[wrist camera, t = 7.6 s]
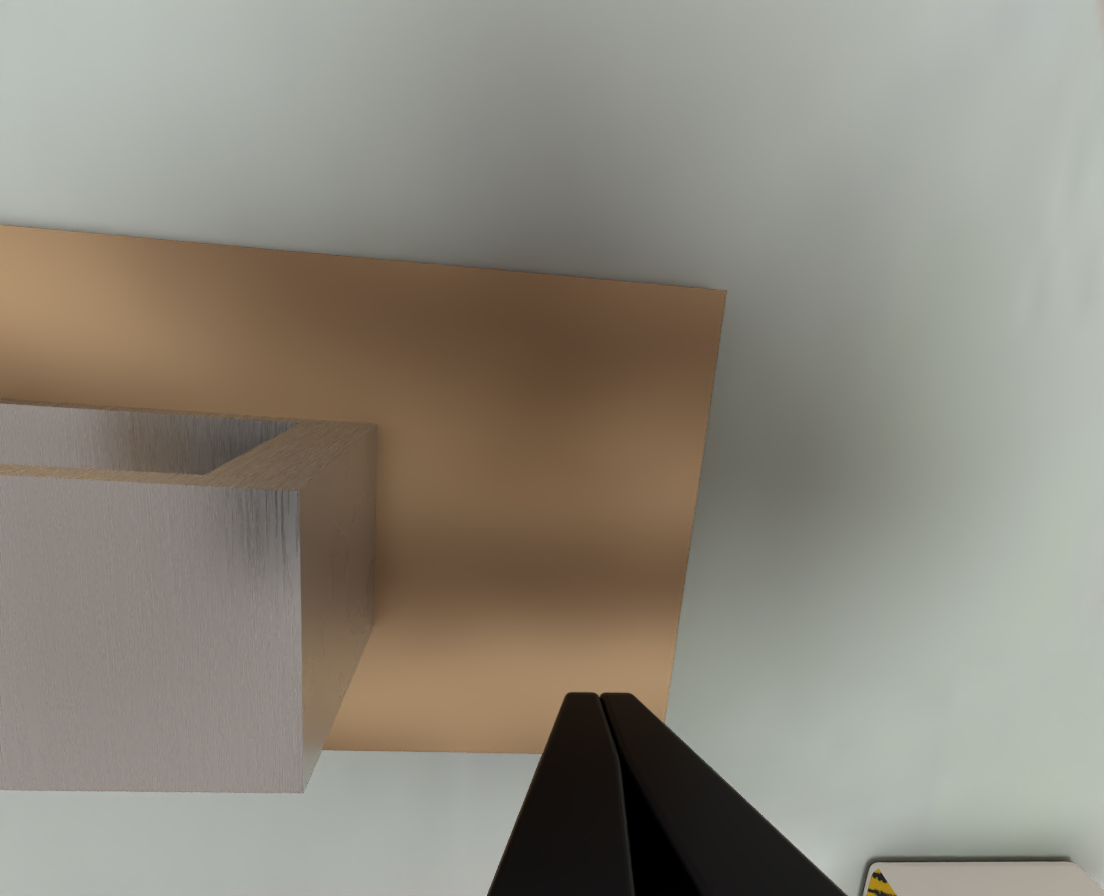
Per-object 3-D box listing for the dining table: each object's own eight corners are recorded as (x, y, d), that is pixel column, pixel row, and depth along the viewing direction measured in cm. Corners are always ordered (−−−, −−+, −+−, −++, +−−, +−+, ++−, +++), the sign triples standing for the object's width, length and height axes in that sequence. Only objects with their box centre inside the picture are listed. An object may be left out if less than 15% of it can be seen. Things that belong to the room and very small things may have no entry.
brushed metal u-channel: (303, 793, 9) (-264, 787, 9) (374, 626, 14) (16, 614, 13) (299, 491, 8) (-355, 455, 7) (377, 423, 13) (-13, 397, 12)
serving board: (650, 729, 17) (694, 858, 13) (-493, 706, 14) (-877, 858, 10) (711, 291, 14) (791, 284, 10) (-690, 166, 11) (-1318, 89, 7)
